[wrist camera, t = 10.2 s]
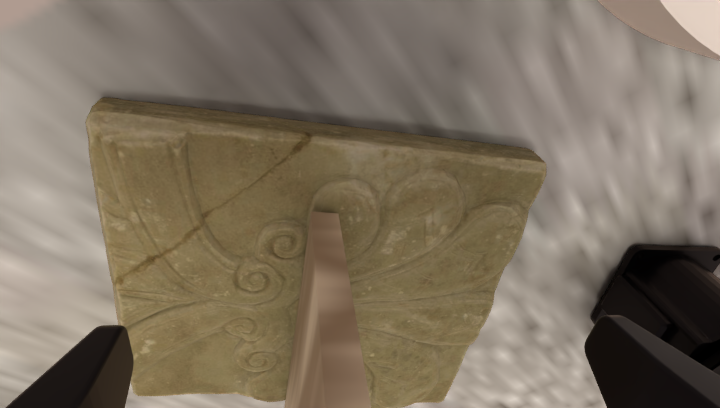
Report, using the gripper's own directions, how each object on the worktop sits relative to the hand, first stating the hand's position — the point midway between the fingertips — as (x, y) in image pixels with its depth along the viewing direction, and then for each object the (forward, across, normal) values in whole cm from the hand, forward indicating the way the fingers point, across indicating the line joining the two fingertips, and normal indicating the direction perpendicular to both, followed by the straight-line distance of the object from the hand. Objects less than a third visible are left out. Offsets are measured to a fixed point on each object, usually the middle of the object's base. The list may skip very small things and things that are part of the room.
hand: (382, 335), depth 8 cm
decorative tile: (+14, 0, +10) cm, 17 cm away
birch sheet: (+10, 0, +11) cm, 15 cm away
